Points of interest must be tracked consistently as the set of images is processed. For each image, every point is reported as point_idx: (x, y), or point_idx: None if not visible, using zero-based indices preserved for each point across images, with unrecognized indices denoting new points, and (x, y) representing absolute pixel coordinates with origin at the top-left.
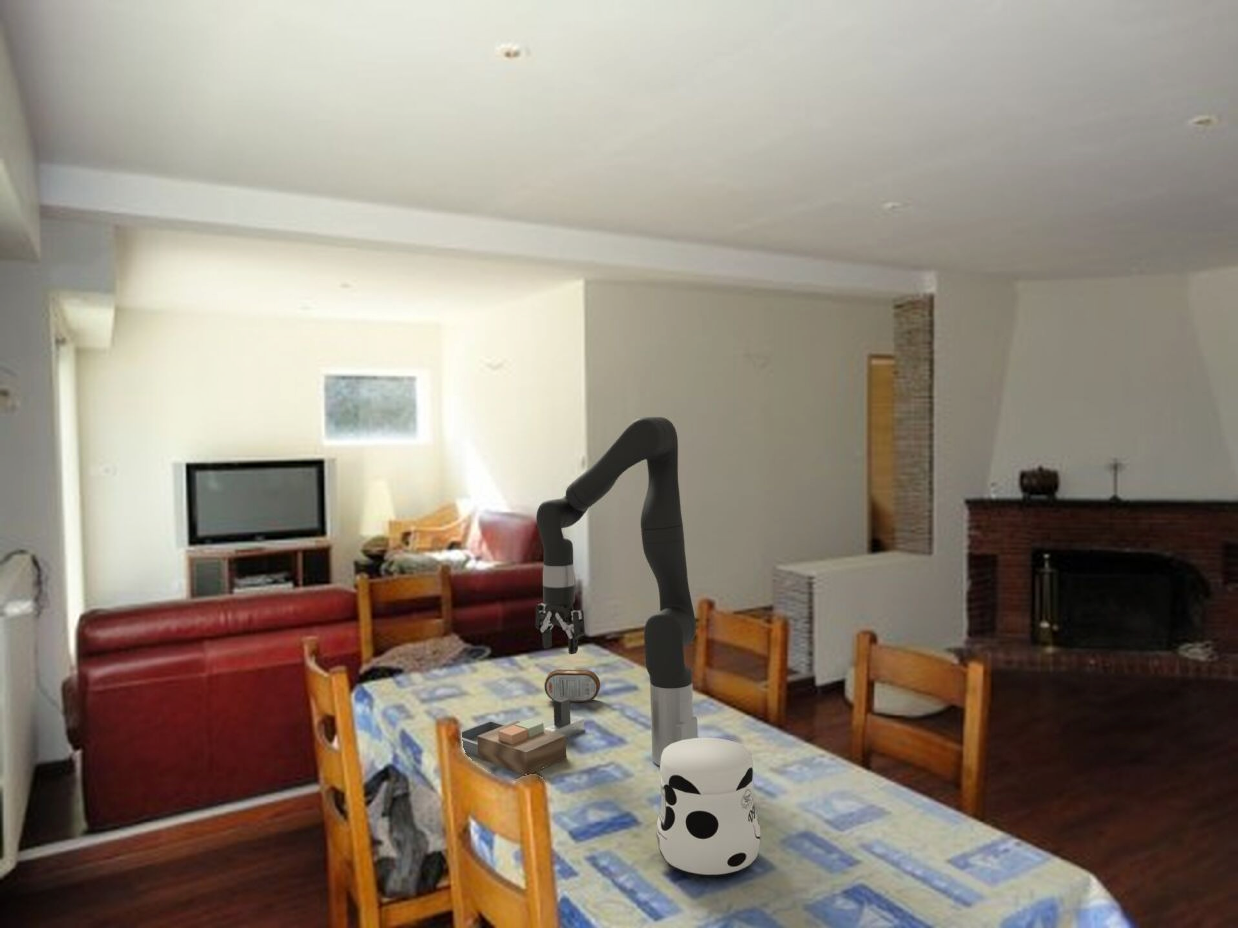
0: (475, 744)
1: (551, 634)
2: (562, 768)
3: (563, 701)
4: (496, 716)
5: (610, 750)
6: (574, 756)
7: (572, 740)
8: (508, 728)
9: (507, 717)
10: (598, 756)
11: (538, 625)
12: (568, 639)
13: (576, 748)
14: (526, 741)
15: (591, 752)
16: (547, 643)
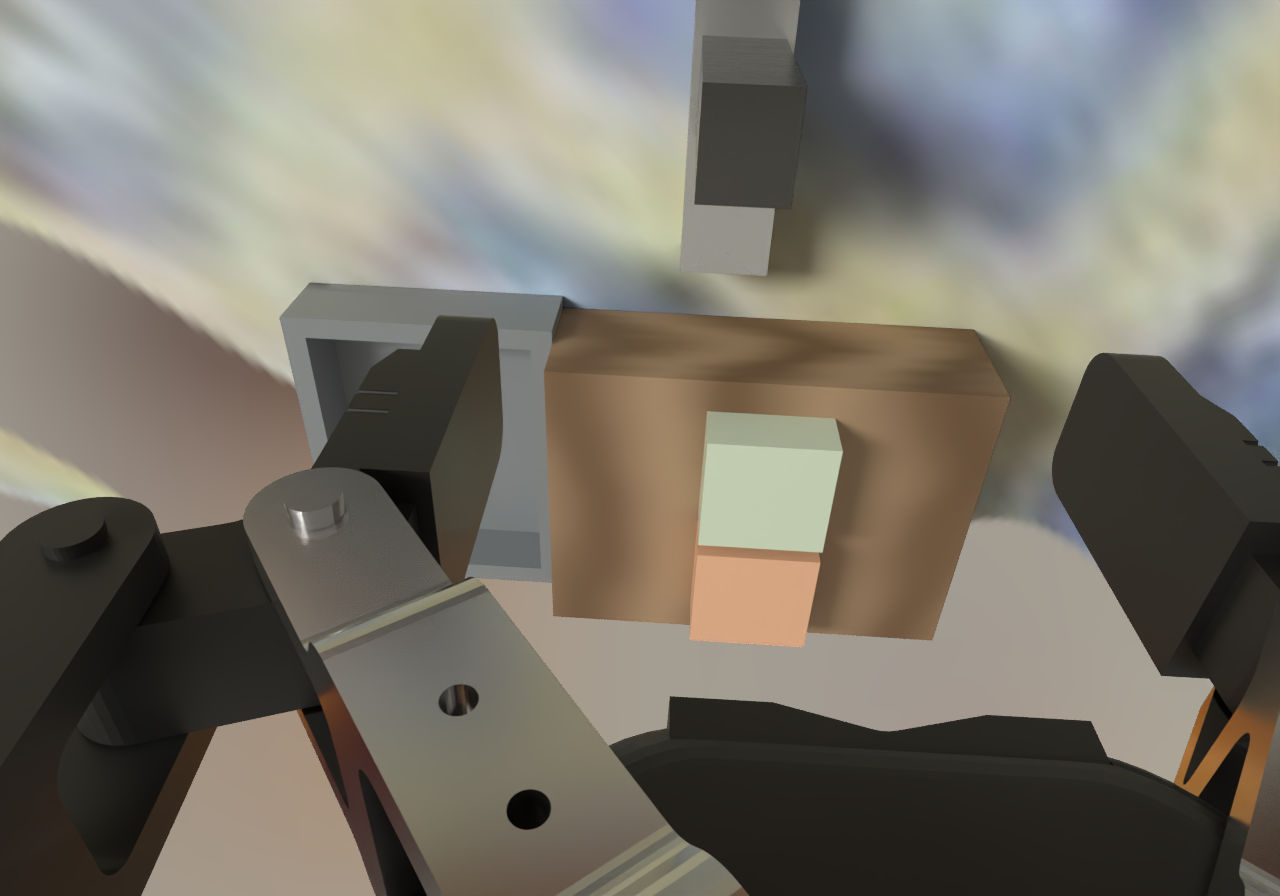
0: (544, 580)
1: (445, 436)
2: (1028, 436)
3: (795, 174)
4: (49, 51)
5: (1202, 93)
6: (1009, 294)
7: (852, 100)
8: (710, 595)
9: (121, 17)
10: (1158, 218)
11: (193, 750)
12: (1160, 663)
13: (956, 194)
14: (841, 557)
15: (1084, 192)
16: (490, 444)
